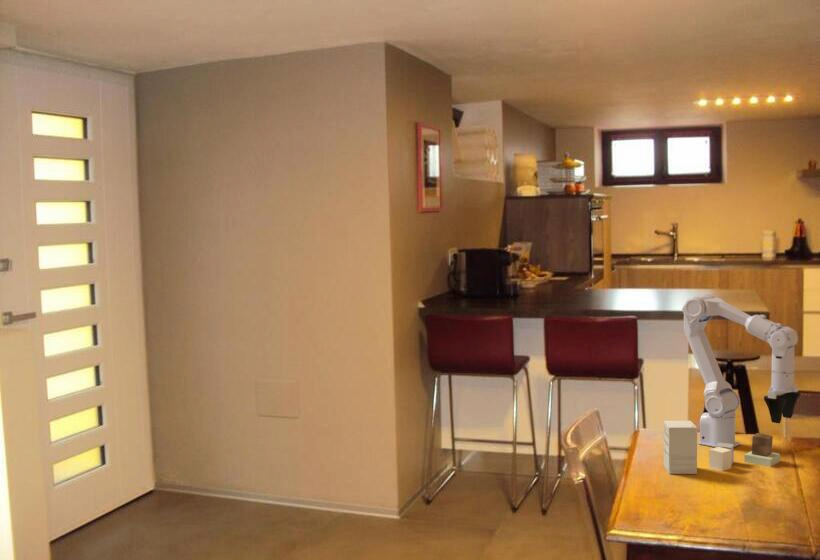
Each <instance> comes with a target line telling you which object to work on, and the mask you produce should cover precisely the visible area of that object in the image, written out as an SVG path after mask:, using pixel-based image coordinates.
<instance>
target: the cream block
mask: <svg viewBox="0 0 820 560" xmlns="http://www.w3.org/2000/svg"><path fill="white" fill-rule="evenodd" d="M708 451H709V452H708V455H709V456H708V457H709V458H708V459H709V461H708V468H710V469H713V470H717V471H720V472H725V471H726V470H730V469H732V465H731V452H732V450H730V449H725V448H721V447H713V448H709V450H708Z"/></svg>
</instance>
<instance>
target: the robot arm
mask: <svg viewBox="0 0 820 560" xmlns="http://www.w3.org/2000/svg"><path fill="white" fill-rule="evenodd" d="M681 311H682V314H683V328H682V329H683V332H684V334H685V337H686V340H687V342H688V345H689V347H690V349H691V352H692V355H693V357H694V359H695V362H696V364H697V367H698V370H699V372H700V374H701V378H702V379H703V382H704V385H705V387H704V391H703V396H704V400H705V401H704V407H705V410H706V411H707V412H703V413H702V414H701V416H700V419H699V430H698V431H699V432H698V433H699V437H698V439H699V441H697V445H703V446H708V447H713V448H716V445H717V444H718V442H720V443H728V444H734V448H736V447H737V446H739V445H741V442H739V441H736V410H737V409H738V408H739V407H740V404H741V398H740V396H739V394H737V393H736V392H735V390H734V389H733V388H732V385H731V383H729V382H728V381H727V380H725V378H724V376H723V373H722V371H721V368H720V365H719V364H718V361H717V359H716V356H715V353H714V351H713V349H712V346H711V344H710V341H709V339H708V338H709V337H708V336H707V333H706V331H705V328H706V326H707V324H708V322H709V321H710V320H711V319H712V318H713V317H714V316H715V317H716V316H720V317H723V318H725V319H727V320H730V321H732V322H734V323H736V324H740V325H741V326H744V327H745V330H746V332H747V333H748V334H750V335H752V336H754V337H755V338H758V339H760V340H762V341H764V342H766V343H767V344H769V346H770V348H771V377H770V381H771V383H770V387H769V390H768V391H767V395H765V396H764V395H763V401H764V402H765V404H766V406H767V408H768V412H769V415H770V421H771V423H775V424H781V421H782V418H786V419H792V417H793V415H794V410H795V406H796V403H797V401H798V400H799V398H800V397H801V392H800V391H799V388H797V383H795V348H796V347H795V346H796V345H797V343H798V342H799V334H798V333H797V331H796V330H795V329H793V328H792V327H791V326H782V324H781V323H779V322H777V323H776V322H774V321H772V320H770V319H767V316H766V315H765V314H754V315H750V314H748V313H746V312H745V311H743V310H741V309H739V308H738V307H735V306H734V305H732V304H730V303H728V302H726V301H724V299H722V298H720V297H716V296H714V295H712V294H705V295H699V296H692V297H689V298H687V300H686V301H685V303H684V305H683V306H682V308H681Z"/></svg>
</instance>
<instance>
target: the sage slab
mask: <svg viewBox="0 0 820 560" xmlns="http://www.w3.org/2000/svg"><path fill="white" fill-rule="evenodd" d="M743 456H744V459H743V462H744V463H748V464H754V465H758V466H759V465H760V466H763V467H769V468H771V467H773V466H774V465H776V464H778V463H779V462H780V461H781V454H780V453H778V452H773V451H772V454H770V455H769V456H767V457H765V456H760V455H755V454H752V450H750V451H749V452H747V453H745V454H744V455H743Z"/></svg>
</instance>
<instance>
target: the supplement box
mask: <svg viewBox="0 0 820 560" xmlns="http://www.w3.org/2000/svg"><path fill="white" fill-rule="evenodd" d="M663 466H664V469H665V470H666V472H667V473H668V474H669V475H697V474H698V426H696V425H695V424H694V422H692V420H663Z"/></svg>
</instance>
